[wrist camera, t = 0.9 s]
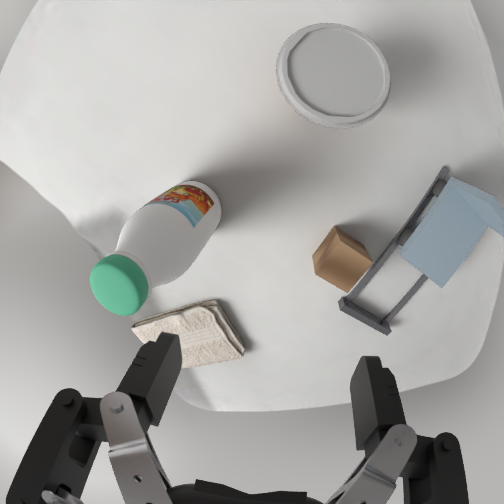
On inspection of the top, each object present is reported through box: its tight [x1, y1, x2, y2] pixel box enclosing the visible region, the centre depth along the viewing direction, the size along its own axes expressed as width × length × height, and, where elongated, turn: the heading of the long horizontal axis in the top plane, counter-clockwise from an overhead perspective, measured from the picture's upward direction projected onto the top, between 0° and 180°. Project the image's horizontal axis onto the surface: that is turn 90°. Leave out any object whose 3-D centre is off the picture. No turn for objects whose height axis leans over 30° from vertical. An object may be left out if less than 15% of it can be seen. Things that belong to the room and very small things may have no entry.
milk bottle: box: [90, 181, 222, 316], centre depth 27 cm, size 8×8×20 cm
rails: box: [338, 166, 449, 335], centre depth 34 cm, size 24×10×2 cm, turn 151°
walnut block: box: [312, 226, 373, 293], centre depth 34 cm, size 5×5×5 cm
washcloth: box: [131, 300, 246, 369], centre depth 45 cm, size 12×18×3 cm, turn 116°
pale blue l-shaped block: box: [398, 177, 504, 288], centre depth 27 cm, size 12×9×12 cm
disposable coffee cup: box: [276, 23, 391, 129], centre depth 23 cm, size 10×10×12 cm
